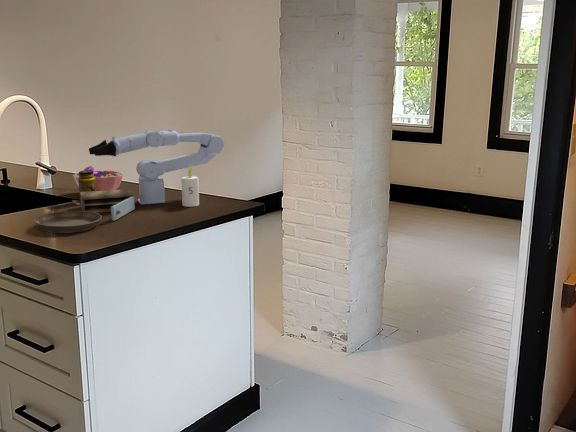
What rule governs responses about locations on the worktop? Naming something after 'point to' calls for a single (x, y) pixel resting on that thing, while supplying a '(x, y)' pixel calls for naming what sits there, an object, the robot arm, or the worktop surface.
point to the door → (122, 208)
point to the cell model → (104, 179)
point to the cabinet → (103, 199)
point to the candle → (190, 190)
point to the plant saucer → (68, 221)
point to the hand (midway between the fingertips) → (91, 152)
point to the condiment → (85, 183)
